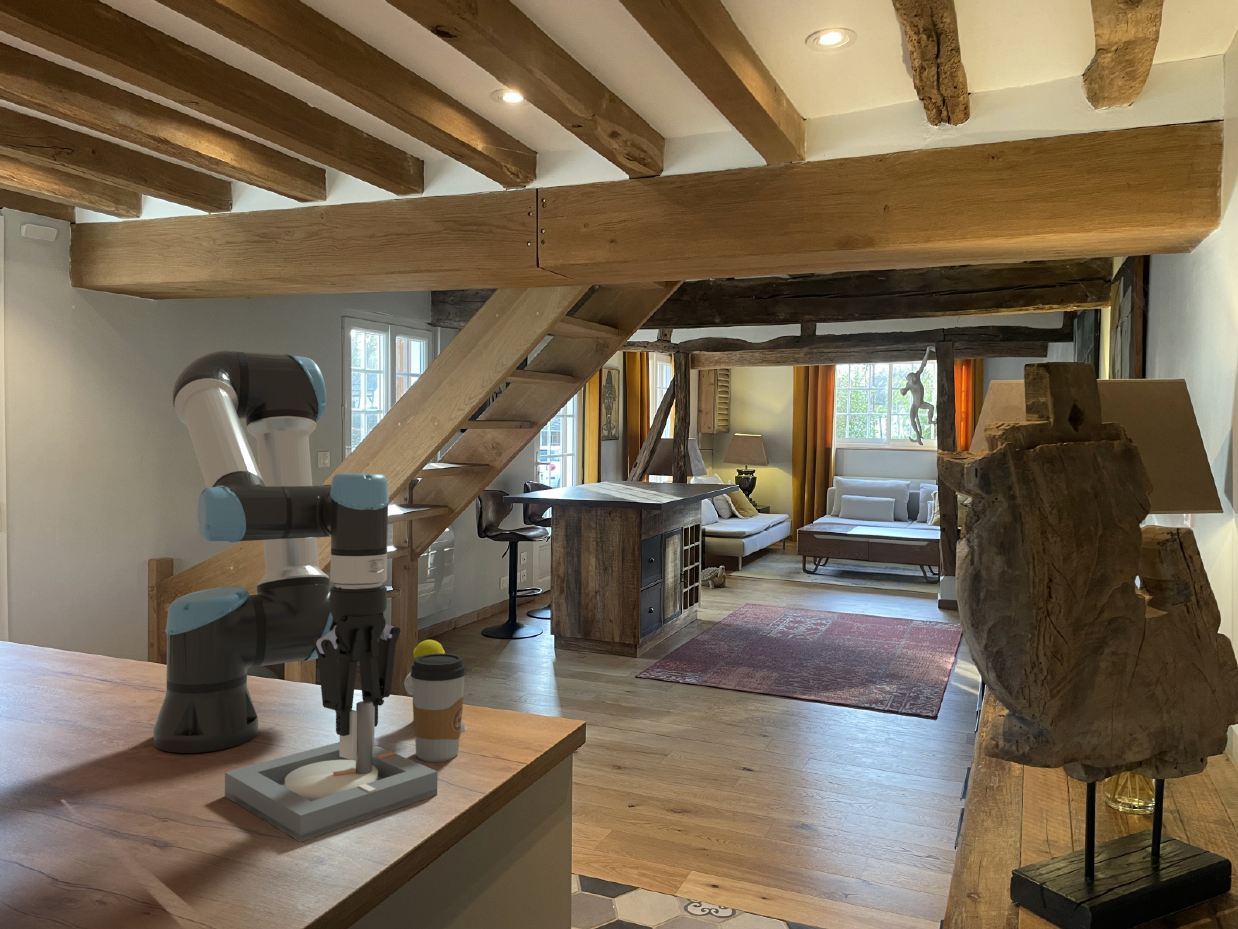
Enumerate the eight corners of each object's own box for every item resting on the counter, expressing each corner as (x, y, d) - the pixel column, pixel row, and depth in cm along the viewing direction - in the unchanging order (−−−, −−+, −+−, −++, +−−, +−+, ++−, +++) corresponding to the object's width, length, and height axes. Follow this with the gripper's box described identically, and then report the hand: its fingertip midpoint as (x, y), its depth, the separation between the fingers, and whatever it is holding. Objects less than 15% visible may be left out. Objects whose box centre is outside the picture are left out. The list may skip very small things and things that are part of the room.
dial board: (224, 796, 119) (225, 770, 118) (356, 758, 134) (356, 736, 133) (300, 842, 105) (300, 814, 105) (437, 794, 120) (437, 770, 120)
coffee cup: (452, 768, 130) (453, 667, 130) (399, 763, 132) (401, 663, 131) (473, 749, 138) (474, 654, 138) (423, 745, 140) (424, 651, 140)
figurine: (409, 743, 141) (411, 650, 140) (399, 726, 149) (400, 638, 149) (471, 736, 145) (473, 645, 144) (458, 720, 153) (459, 634, 153)
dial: (287, 811, 111) (288, 724, 111) (281, 778, 122) (282, 699, 122) (384, 797, 116) (385, 714, 116) (370, 766, 127) (371, 690, 127)
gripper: (329, 593, 113) (327, 776, 113) (419, 581, 126) (417, 745, 126) (293, 588, 118) (291, 764, 118) (384, 577, 130) (382, 736, 130)
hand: (356, 754), depth 122 cm, fingers closed on dial, 2 cm apart
